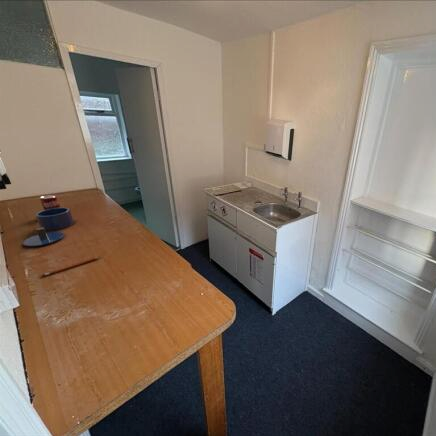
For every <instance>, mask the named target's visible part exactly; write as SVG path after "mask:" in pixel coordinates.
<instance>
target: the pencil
mask: <svg viewBox="0 0 436 436" xmlns="http://www.w3.org/2000/svg"><path fill="white" fill-rule="evenodd" d="M99 258H100V256H98V257H97V256H96V257H92V258H89V259H86V260H84V261H83V260H82V261H80V262H77V263H74V264H71V265H67V266H64V267H61V268H58V269H55V270H51V271H48V272H46V273H42V277H45V276H49V275H52V274H55V273H58V272H61V271H64V270H67V269H71V268H74V267H77V266H80V265H83V264H86V263H88V262H92V261H93V262H94V261H95V260H98V259H99Z"/></svg>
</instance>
